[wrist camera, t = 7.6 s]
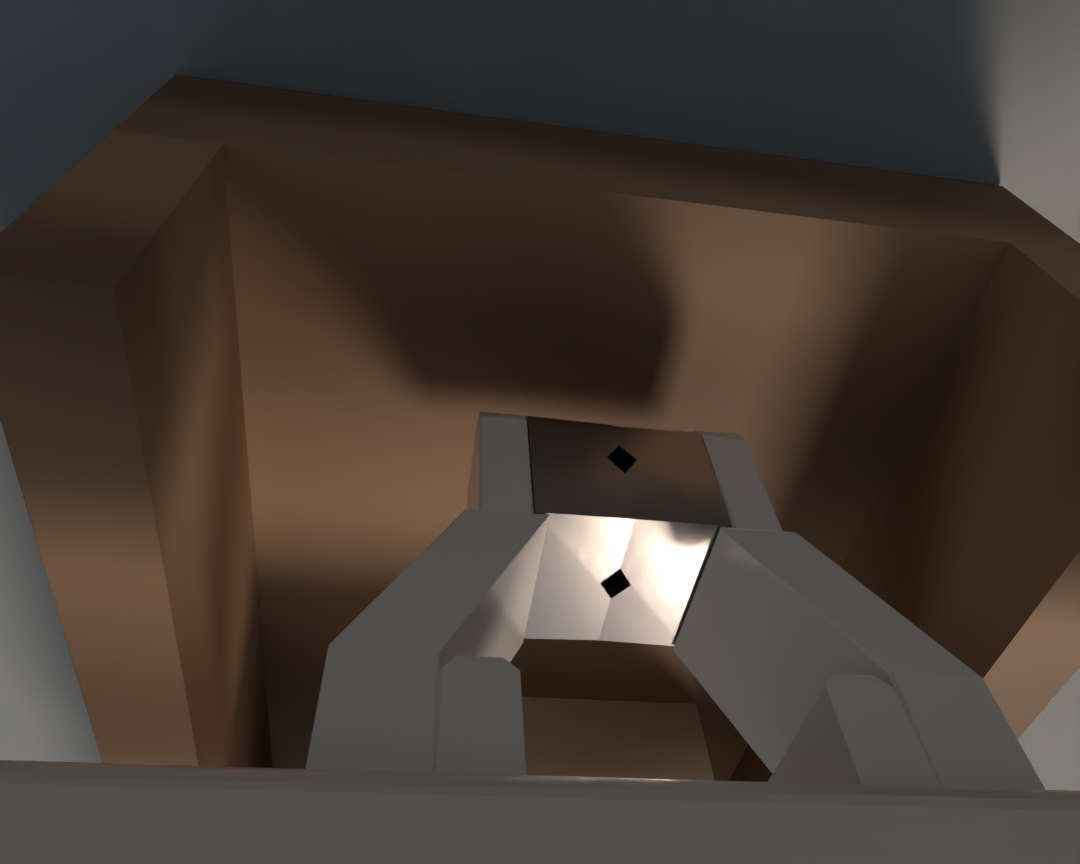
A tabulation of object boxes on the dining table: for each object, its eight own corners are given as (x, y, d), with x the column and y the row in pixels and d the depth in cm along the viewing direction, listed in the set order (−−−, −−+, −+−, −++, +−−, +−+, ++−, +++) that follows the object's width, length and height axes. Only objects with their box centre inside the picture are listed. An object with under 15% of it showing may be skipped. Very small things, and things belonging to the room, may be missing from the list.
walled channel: (175, 74, 10) (-69, 292, 5) (1002, 186, 11) (1329, 429, 7) (269, 936, 23) (222, 1188, 19) (631, 937, 25) (662, 1172, 20)
